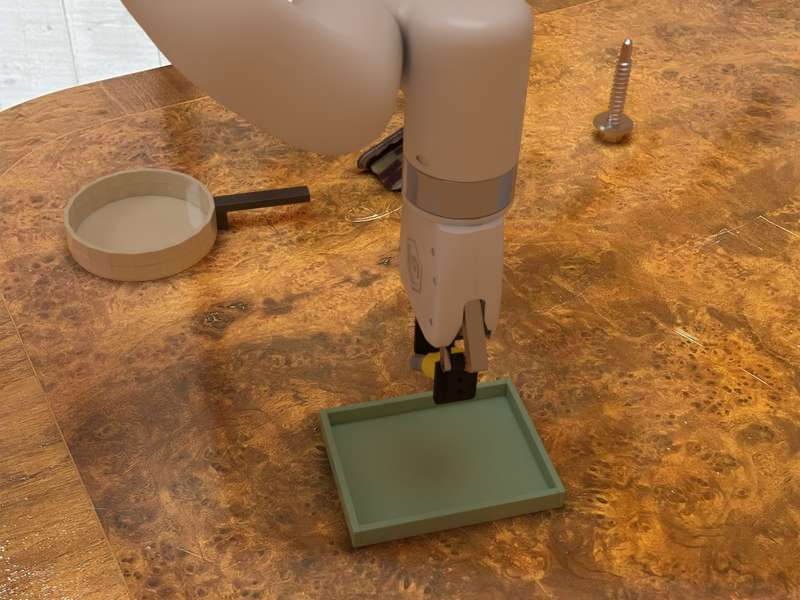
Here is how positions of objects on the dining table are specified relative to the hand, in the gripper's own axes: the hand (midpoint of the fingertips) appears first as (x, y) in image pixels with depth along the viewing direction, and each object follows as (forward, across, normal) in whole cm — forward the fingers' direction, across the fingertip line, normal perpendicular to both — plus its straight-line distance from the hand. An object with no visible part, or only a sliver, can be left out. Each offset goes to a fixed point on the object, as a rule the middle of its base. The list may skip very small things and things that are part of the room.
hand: (443, 373), depth 82 cm
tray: (+10, 0, 0) cm, 10 cm away
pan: (+10, -37, -21) cm, 44 cm away
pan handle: (+10, -37, -8) cm, 39 cm away
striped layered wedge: (+11, -42, +10) cm, 45 cm away
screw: (+11, -45, +35) cm, 58 cm away
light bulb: (+1, 0, 0) cm, 1 cm away
